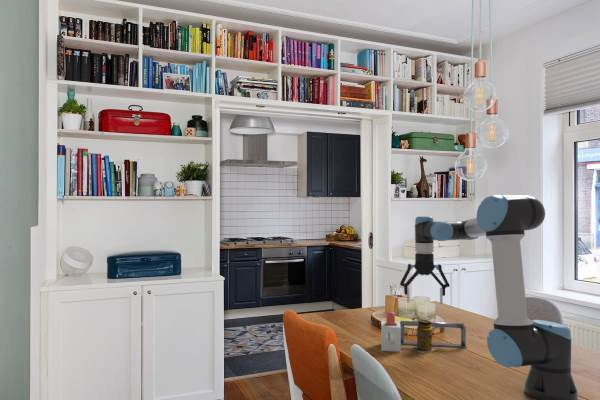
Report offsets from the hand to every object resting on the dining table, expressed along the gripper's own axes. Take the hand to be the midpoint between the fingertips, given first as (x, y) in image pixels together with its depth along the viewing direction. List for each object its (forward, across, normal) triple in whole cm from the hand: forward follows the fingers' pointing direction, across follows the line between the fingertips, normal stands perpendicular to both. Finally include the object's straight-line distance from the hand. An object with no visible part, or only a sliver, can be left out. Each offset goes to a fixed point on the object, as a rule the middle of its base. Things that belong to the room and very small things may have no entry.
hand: (424, 303), depth 201 cm
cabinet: (+20, +14, 0) cm, 24 cm away
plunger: (+14, +14, 0) cm, 20 cm away
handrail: (+20, -4, -7) cm, 21 cm away
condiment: (+20, +1, 0) cm, 20 cm away
